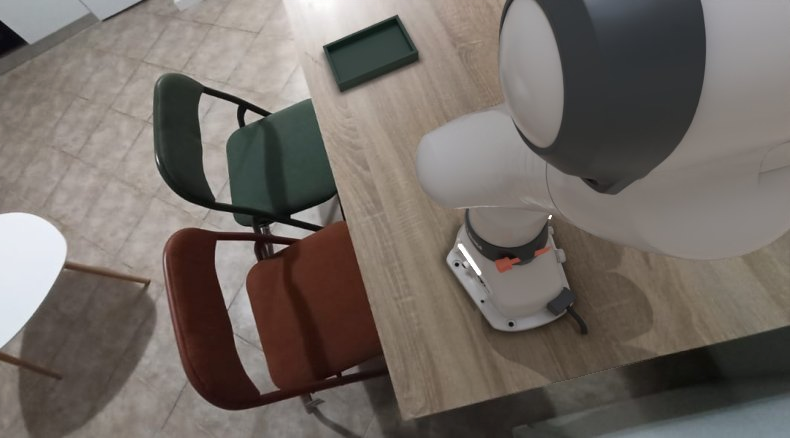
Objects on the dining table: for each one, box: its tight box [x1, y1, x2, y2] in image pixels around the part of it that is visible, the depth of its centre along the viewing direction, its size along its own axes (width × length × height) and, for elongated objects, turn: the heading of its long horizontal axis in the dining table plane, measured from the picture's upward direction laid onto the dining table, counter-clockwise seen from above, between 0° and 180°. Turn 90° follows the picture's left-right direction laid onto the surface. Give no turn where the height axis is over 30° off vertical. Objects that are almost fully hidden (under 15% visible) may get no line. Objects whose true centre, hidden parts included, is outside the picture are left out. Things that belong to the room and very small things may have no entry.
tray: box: [322, 14, 420, 93], centre depth 105 cm, size 14×20×3 cm
